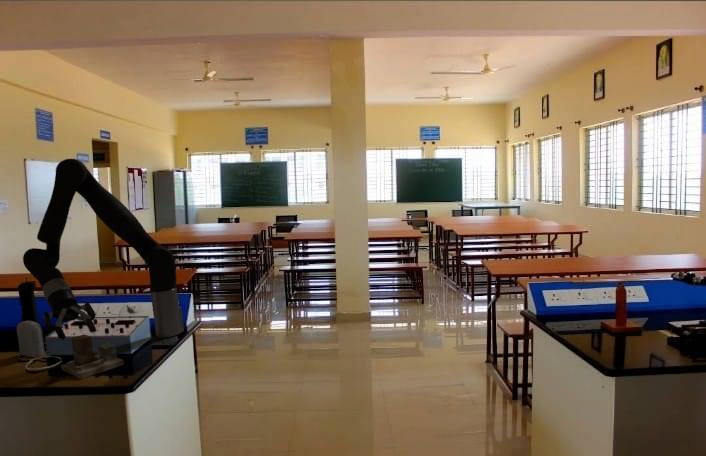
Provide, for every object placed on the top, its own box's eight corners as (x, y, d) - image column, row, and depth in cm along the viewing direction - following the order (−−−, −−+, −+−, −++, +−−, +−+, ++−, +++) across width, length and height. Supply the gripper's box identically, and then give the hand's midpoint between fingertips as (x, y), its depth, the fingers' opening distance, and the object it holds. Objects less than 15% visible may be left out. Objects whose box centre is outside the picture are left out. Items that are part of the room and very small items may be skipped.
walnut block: (88, 361, 163) (84, 334, 162) (95, 364, 160) (91, 336, 159) (75, 365, 160) (71, 338, 159) (81, 368, 157) (77, 340, 156)
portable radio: (26, 337, 205) (17, 276, 203) (43, 334, 208) (34, 274, 205) (23, 342, 198) (13, 279, 196) (41, 339, 201) (31, 277, 198)
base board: (103, 356, 171) (101, 341, 171) (123, 364, 161) (121, 347, 161) (61, 369, 161) (59, 353, 161) (80, 379, 152) (78, 361, 151)
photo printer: (47, 354, 180) (42, 320, 179) (34, 358, 176) (29, 323, 175) (31, 351, 185) (26, 318, 184) (18, 355, 181) (13, 321, 180)
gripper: (36, 293, 160) (55, 333, 153) (84, 283, 170) (103, 320, 164) (33, 308, 164) (51, 348, 157) (79, 297, 174) (98, 334, 168)
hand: (78, 334), depth 161 cm, fingers open, 8 cm apart
